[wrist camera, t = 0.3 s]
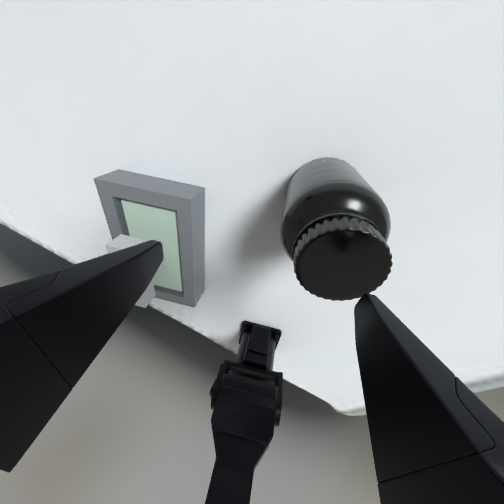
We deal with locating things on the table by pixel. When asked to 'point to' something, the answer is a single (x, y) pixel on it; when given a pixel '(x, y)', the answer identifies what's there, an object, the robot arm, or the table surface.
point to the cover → (153, 228)
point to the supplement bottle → (335, 231)
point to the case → (171, 197)
